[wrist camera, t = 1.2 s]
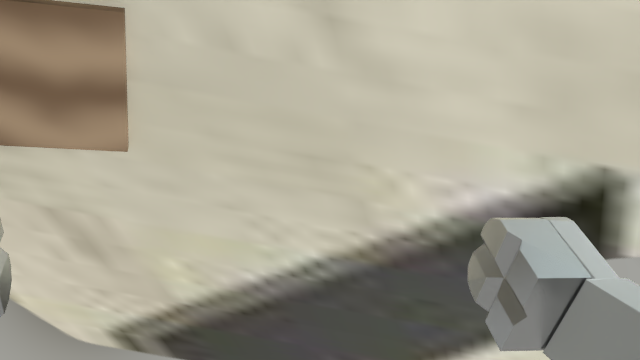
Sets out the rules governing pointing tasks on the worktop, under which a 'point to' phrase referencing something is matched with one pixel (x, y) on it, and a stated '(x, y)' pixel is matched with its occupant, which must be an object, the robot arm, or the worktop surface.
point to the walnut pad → (63, 75)
